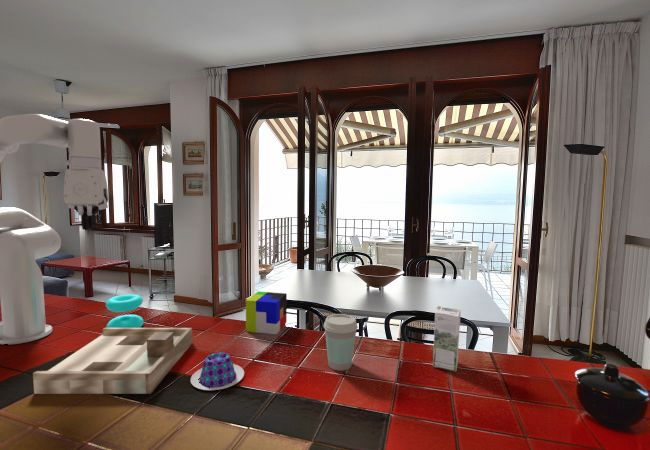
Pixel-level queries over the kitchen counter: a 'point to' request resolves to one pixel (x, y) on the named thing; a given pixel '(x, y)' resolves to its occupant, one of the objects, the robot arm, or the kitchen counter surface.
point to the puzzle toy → (266, 312)
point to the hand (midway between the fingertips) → (88, 229)
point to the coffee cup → (340, 340)
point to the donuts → (122, 305)
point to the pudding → (217, 372)
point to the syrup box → (446, 338)
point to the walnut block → (159, 344)
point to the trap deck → (114, 364)
